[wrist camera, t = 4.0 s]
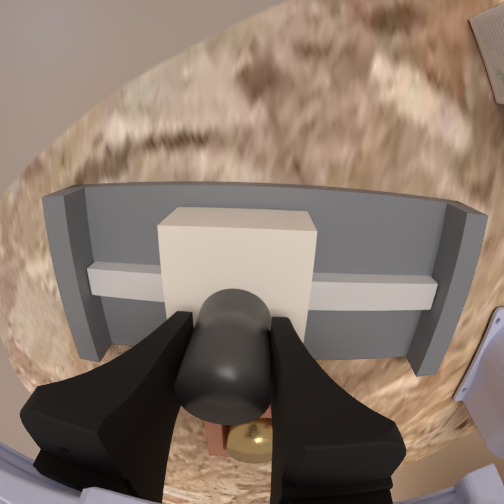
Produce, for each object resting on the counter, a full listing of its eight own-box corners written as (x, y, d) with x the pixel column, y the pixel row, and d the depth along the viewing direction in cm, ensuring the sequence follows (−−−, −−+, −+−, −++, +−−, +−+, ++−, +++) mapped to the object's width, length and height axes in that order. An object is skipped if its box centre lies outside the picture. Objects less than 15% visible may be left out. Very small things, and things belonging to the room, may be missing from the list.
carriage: (292, 350, 17) (301, 461, 10) (188, 344, 17) (153, 448, 10) (307, 211, 14) (343, 288, 7) (178, 206, 14) (104, 275, 7)
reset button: (278, 428, 19) (279, 464, 16) (231, 426, 19) (227, 461, 16) (283, 400, 17) (284, 438, 15) (230, 397, 18) (225, 435, 15)
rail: (419, 345, 18) (435, 374, 15) (99, 331, 19) (80, 358, 16) (458, 201, 15) (488, 215, 12) (73, 185, 15) (42, 197, 13)
